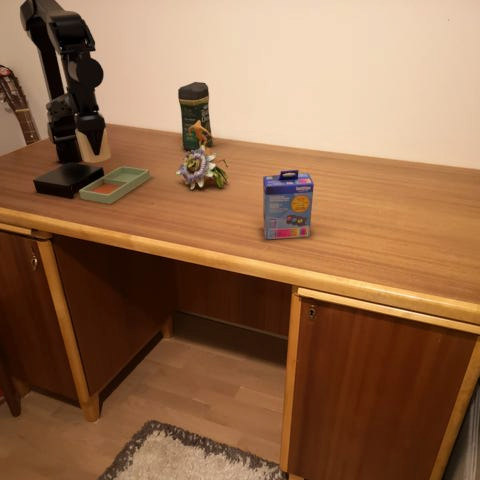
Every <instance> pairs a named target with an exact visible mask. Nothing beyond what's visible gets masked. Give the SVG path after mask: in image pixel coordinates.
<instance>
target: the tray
mask: <svg viewBox="0 0 480 480" xmlns="http://www.w3.org/2000/svg"><path fill="white" fill-rule="evenodd" d="M104 175H105V176H103V177H102V178H100V179H98V180H96V179H95V180H94V181H93V182H91V183H89V184H88V185H86V186H84V187H82V188H81V189H79V190H78V192H79V193H78V194H79V196H80V199H81V200H85V201H89V202H90V201H91V202H96V203H102V204H108V205H112V204H113V203H115V202H116V201H118V200H119V199H121V198H123V197H124V196H125V195H127V194H129V193H130V192H132V191H133V190H135V189H136V188H138V187H140V186H142V184H144V183H145V182H147V181H149V180H150V179H151V178H152V176H151V170H150V169H146V168H138V167H133V166H132V167H131V166H124V165H120V166H119V167H117V168H116V169H114V170H112V171H110V172H109V173H106V174H104Z"/></svg>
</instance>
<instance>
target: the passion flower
mask: <svg viewBox="0 0 480 480" xmlns="http://www.w3.org/2000/svg"><path fill="white" fill-rule="evenodd" d="M204 153H205V146H204V145H201V146H200V148H199V149H198V150H197V149H196V150H194V151H193V150H192V151H188V150H187V154H186V155H185V156H184V158H182V161H183V163H180V165H179V169H177V170H176V171H175V175H178V176H181V175H182V177H184V179H185V181H184V182H185V184H184V185H185V186H188V185H189V186H190V191H193V190H195V189H196V187H197V186H198V187H199V188H203V187H204V186H205V184H206V177H207V178H209V180H212V177H213V178H214V181H215V182H216V185H217V187H218V188H220V189H223V188H224V181H225V183H226V184H228V176H227V173H226V172H225V170H224V169H222V168H221V167H219V166H218V165H217V163H219V162H223V163H224V164H225V167H226V168H229V164H228V162H227V161H226V159H225V158H222V159H220V160H218V161H216V162H212V161H213V160H215V159H216V158H217V153H216V152H212V154H209V155H205V154H204Z"/></svg>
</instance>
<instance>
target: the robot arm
mask: <svg viewBox="0 0 480 480" xmlns="http://www.w3.org/2000/svg"><path fill="white" fill-rule="evenodd" d="M19 19H20V23H21V26H22V29H23V31H24V32H25V33H26V36H27V37H28V39H29V40H30V41H31V42H32V44H33V45H34V46H35V47H36V50H37V54H38V58H39V63H40V66H41V67H40V68H41V70H42V75H43V79H44V83H45V88H46V92H47V96H48V100H49V102H47V103H46V104H45V109H46V111H47V113H46V116H47V123H46V128H47V129H46V131H47V136H48V139H49V141H50V142H51V143H52V144H53V145H55V151H56V156H57V158H58V159H57V160H56V161H55V163H57V164H63V165H64V164H66V163H68V162H71V163H79V162H81V161H83V160H82V156H81V152H80V148H79V144H78V140H77V136H76V132H75V130H76V129H77V130H78V131H79V132H80V133H83V134H84V135H86V137H87V139H88V141H89V143H90V146H91V148H92V150H93V153H94V155H95V156H97V155H99V154H100V149H101V143H102V138H103V133H104V129H105V128H106V129H107V125H106V121H105V117H104V115H103V114H102V113H100V112H99V111H100V106H99V104H98V100H97V95H96V88H98V87H100V86H101V84H102V83H103V81H104V76H105V73H104V68H103V67H102V65H101V63H100V62H99V61H98V60H96V58H93V57H92V55H91V52H96V51H97V49H96V41H95V39H94V36H93V34H92V32H91V30H90V27H89V25H88V24H87V23H86V20H85V19H84V18H82V16H81V15H80V13H78V12H76V11H73V10H66V9H64V7H62V5H61V4H60V3H58V1H57V0H25V1H24V2H23V3H22V4H21V5H20V6H19ZM58 56H59V57H60V63H61V66H62V70H63V75H64V79H65V83H66V86H65V87H64V83H63V78H62V73H61V69H60V65H59V64H60V63H59V60H58ZM65 90H66V92H65Z"/></svg>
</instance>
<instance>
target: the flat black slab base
mask: <svg viewBox="0 0 480 480" xmlns="http://www.w3.org/2000/svg"><path fill="white" fill-rule="evenodd" d="M105 175H106V174H105V171H104V167H103V166H98V165H92V164H86V163H85V164H84V163H79V162H77V163H71V162H68V163H66V164H64V163H63V164H62V165H60V166H58V167H56V168H53V169H52V170H49V171H48V172H46V173H43V174H42V175H40V176H38V177H36V178H33V179H32V183H33V185H34V188H35V191H36V194H42V195H48V196H53V197H59V198H63V199H70V200H72V199H74V198H75V196H74V192H73V188H72V187H74V186H76V185H77V184H79V183H81V182H82V181H85V180H86V179H90V180H95V181H96V180H98V179H100V178H102V177H103V176H105Z"/></svg>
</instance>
